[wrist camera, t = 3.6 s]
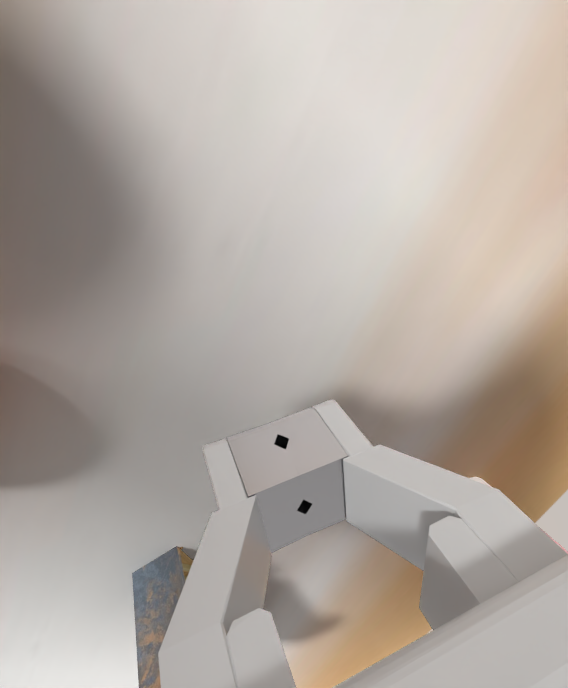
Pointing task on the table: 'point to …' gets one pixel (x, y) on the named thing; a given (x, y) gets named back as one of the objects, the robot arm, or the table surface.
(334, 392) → the table surface
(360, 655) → the table surface
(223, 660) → the robot arm
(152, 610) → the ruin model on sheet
